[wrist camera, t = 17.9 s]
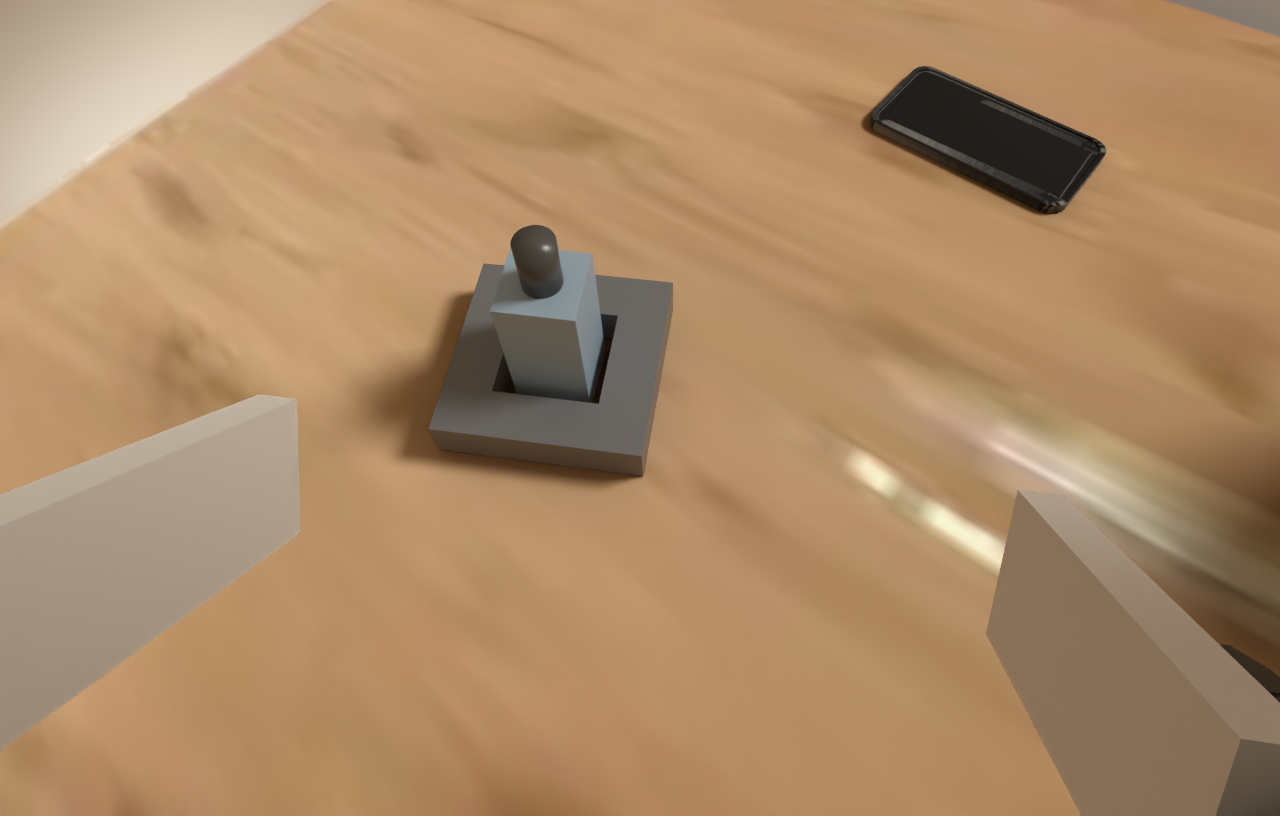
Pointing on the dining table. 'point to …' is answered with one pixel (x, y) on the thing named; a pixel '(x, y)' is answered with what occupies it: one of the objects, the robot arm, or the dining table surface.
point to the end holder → (559, 428)
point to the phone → (989, 138)
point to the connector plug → (549, 318)
